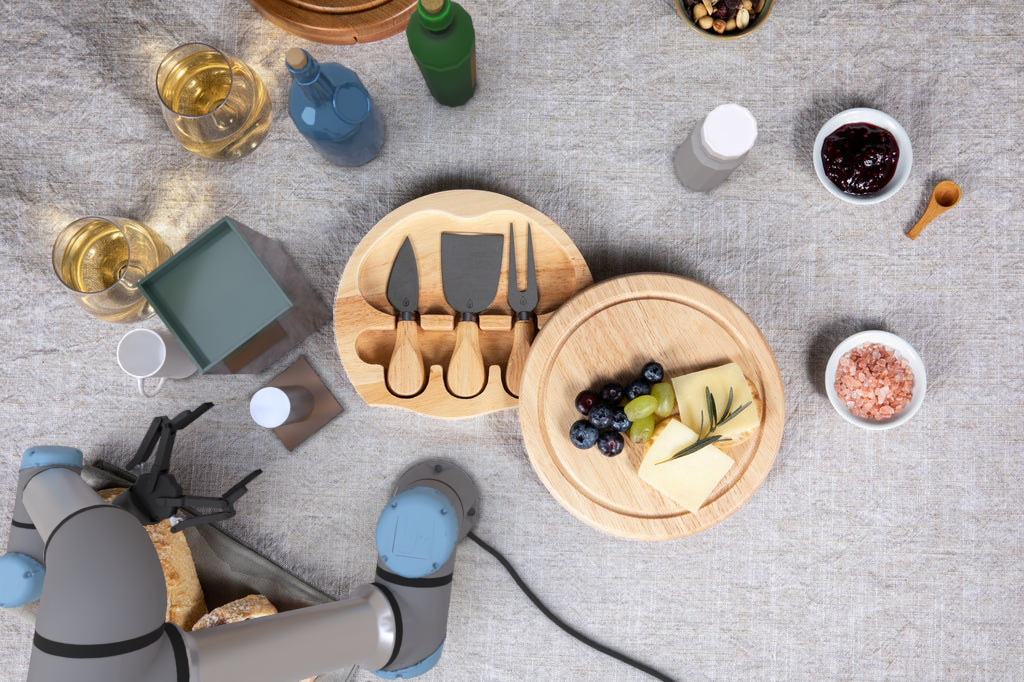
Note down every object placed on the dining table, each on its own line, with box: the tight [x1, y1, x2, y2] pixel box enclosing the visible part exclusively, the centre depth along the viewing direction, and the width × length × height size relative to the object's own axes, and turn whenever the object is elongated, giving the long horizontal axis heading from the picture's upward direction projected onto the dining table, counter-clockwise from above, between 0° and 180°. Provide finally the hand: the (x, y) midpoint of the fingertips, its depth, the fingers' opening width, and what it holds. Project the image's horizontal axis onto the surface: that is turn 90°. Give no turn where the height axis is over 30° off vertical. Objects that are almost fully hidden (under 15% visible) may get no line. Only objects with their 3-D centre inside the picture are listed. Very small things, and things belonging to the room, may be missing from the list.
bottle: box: [405, 0, 478, 108], centre depth 107 cm, size 11×11×28 cm
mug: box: [116, 327, 198, 399], centre depth 113 cm, size 12×8×12 cm
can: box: [249, 385, 314, 429], centre depth 112 cm, size 7×7×12 cm
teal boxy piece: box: [134, 215, 334, 376], centre depth 109 cm, size 17×17×21 cm
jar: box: [673, 102, 759, 192], centre depth 110 cm, size 10×10×18 cm
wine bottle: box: [284, 47, 386, 168], centre depth 106 cm, size 14×13×30 cm
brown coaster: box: [249, 356, 345, 452], centre depth 118 cm, size 12×12×1 cm
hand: (234, 437), depth 107 cm, fingers open, 13 cm apart
